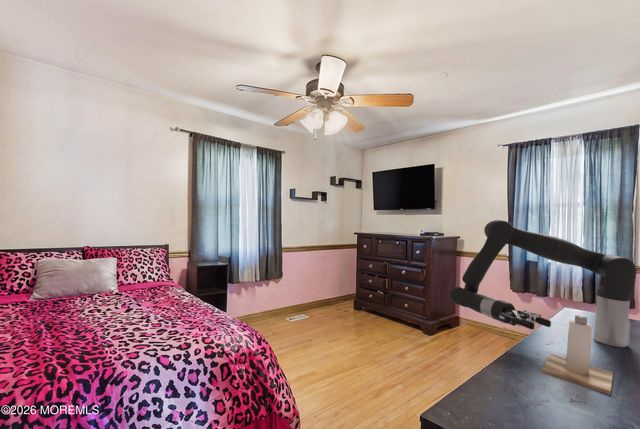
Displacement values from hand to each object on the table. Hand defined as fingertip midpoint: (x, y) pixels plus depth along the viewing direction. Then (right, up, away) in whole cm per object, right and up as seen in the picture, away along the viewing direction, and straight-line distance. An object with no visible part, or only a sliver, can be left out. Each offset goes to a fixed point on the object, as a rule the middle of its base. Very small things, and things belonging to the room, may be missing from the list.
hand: (542, 325), depth 103 cm
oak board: (+4, -11, -10) cm, 15 cm away
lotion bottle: (+4, -10, -10) cm, 14 cm away
